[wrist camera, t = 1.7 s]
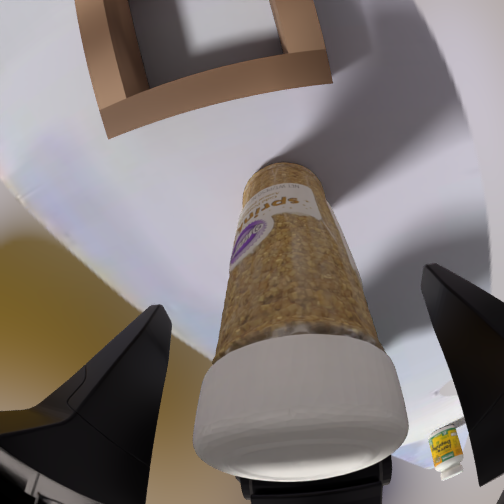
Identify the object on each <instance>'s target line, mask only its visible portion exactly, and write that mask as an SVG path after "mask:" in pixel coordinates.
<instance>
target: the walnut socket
mask: <svg viewBox="0 0 504 504" xmlns="http://www.w3.org/2000/svg"><path fill="white" fill-rule="evenodd" d="M269 2H270V5H271V9H272V12H273V16H274V20H275V23H276V27H277V31H278V35H279V39H280V43H281V47H282V51H283V54H281V55H275V56H269V57H264V58H258V59H253V60H248V61H244V62H239V63H235V64H230V65H226V66H222V67H218V68H215V69H211V70H207V71H204V72H200V73H197V74H193V75H190V76H187V77H183V78H180V79H177V80H174V81H171V82H168V83H165V84H162V85H160V86H157V87H154V88H151V89H150V88H149V84H148V81H147V77H146V73H145V69H144V65H143V62H142V58H141V54H140V50H139V46H138V42H137V38H136V34H135V29H134V25H133V21H132V16H131V12H130V8H129V3H128V0H75V6H76V12H77V18H78V23H79V29H80V34H81V39H82V43H83V48H84V53H85V57H86V61H87V66H88V70H89V74H90V78H91V82H92V85H93V89H94V93H95V97H96V100H97V104H98V107H99V111H100V114H101V117H102V121H103V124H104V127H105V130H106V134H107V137H108V139H111V138H113V137H116V136H118V135H121V134H123V133H126V132H128V131H131V130H134V129H136V128H139V127H142V126H145V125H148V124H151V123H153V122H156V121H159V120H162V119H165V118H169V117H172V116H175V115H178V114H181V113H185V112H188V111H192V110H195V109H199V108H202V107H206V106H210V105H214V104H218V103H222V102H226V101H230V100H234V99H239V98H243V97H248V96H253V95H258V94H263V93H268V92H274V91H279V90H285V89H292V88H298V87H306V86H313V85H322V84H331V83H333V81H332V75H331V71H330V66H329V61H328V57H327V52H326V48H325V43H324V39H323V35H322V31H321V27H320V23H319V20H318V16H317V12H316V9H315V5H314V2H313V0H269Z"/></svg>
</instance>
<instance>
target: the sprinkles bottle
mask: <svg viewBox="0 0 504 504" xmlns="http://www.w3.org/2000/svg"><path fill="white" fill-rule="evenodd" d="M229 274H230V276H229V280H228V284H227V291H226V298H225V302H224V309H223V313H222V322H221V328H220V333H219V340H218V344H217V348H216V355H215V357H214V359H213V361H212V364H213V366H211V367H210V369H209V370H208V372H207V374H206V375H205V377H204V380H203V382H202V387H201V391H200V396H199V401H198V407H197V412H196V419H195V425H194V433H193V446H194V449H195V452H196V454H197V455H198V456H199V457H200V458H201V460H203V461H204V462H205V463H207V464H208V465H210V466H212V467H214V468H216V469H218V470H220V471H222V472H225V473H228V474H232V475H235V476H239V477H244V478H249V479H255V480H264V481H279V482H296V481H310V480H318V479H325V478H331V477H335V476H340V475H344V474H347V473H351V472H354V471H357V470H360V469H363V468H366V467H368V466H371V465H373V464H375V463H377V462H379V461H381V460H383V459H384V458H386V457H388V456H389V455H391V454H392V453H393V452H395V451H396V450H397V449H398V448H399V447H400V446H401V445H402V443H403V442H404V440H405V439H406V436H407V434H408V429H409V425H408V418H407V412H406V407H405V402H404V398H403V394H402V390H401V387H400V383H399V379H398V376H397V372H396V369H395V366H394V364H393V362H392V360H391V359H390V357H389V356H388V355H387V354H386V352H385V351H384V349H383V347H382V345H381V343H380V342H379V340H378V337H377V332H376V330H375V327H374V325H373V320H372V317H371V315H370V312H369V310H368V305H367V301H366V299H365V296H364V293H363V286H362V281H361V278H360V275H359V272H358V269H357V267H356V264H355V262H354V259H353V256H352V254H351V251H350V249H349V247H348V244H347V242H346V239H345V237H344V235H343V232H342V230H341V227H340V225H339V223H338V221H337V219H336V216H335V214H334V212H333V210H332V208H331V206H330V204H329V203H328V201H326V199H325V193H324V190H323V188H322V185H321V182H320V181H319V180H318V178H317V177H316V176H315V175H314V174H313V173H312V172H311V171H310V170H309V169H307V168H305V167H303V166H301V165H298V164H295V163H285V162H281V163H274V164H271V165H268V166H266V167H264V168H263V169H260V170H259V171H258V172H256V173H255V174H254V175H253V176H252V177H251V178H250V179H249V181H248V183H247V185H246V187H245V190H244V193H243V209H242V212H241V214H240V217H239V221H238V225H237V231H236V236H235V241H234V245H233V251H232V256H231V261H230V269H229Z"/></svg>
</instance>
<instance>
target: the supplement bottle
mask: <svg viewBox="0 0 504 504" xmlns="http://www.w3.org/2000/svg"><path fill="white" fill-rule="evenodd" d="M428 440H429V444H430V448H431V453H432V457H433V462H434V466H435V469H436V471H441V480H442V481H443V480H446V479H449V478H451V477H453V476H456V475H457V474H459V473H461V472H463V467H462V465H460V462H461V461H462V460H463V452H462V449H461V445H460V442H459V438H458V435H457V432H456V428H455V426H454V425H448V426H445V427H443V428H441V429H439V430H437V431H435V432H433V433H432V434H431V435H430V436H429V438H428Z"/></svg>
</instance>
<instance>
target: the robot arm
mask: <svg viewBox="0 0 504 504" xmlns="http://www.w3.org/2000/svg"><path fill="white" fill-rule="evenodd" d="M421 290H422V294H423V297H424V300H425V303H426V306H427V309H428V312H429V315H430V319H431V322H432V325H433V328H434V331H435V333H436V336H437V338H438V341H439V343H440V346H441V348H442V351H443V354H444V356H445V359H446V362H447V364H448V367H449V370H450V373H451V376H452V379H453V382H454V385H455V388H456V390H457V394H458V397H459V400H460V404H461V407H462V410H463V414H464V417H465V421H466V425H467V429H468V432H469V437H470V441H471V446H472V450H473V454H474V460H475V465H476V470H477V476H478V482H479V486H480V487H481V486H483V485H485V484H487V483H488V482H491V481H492V480H494V479H496V478H498V477H500V476H502V475H503V474H504V302H502V301H501V300H499V299H497V298H495V297H494V296H492V295H491V294H489V293H487V292H486V291H484V290H482V289H481V288H479V287H477V286H476V285H474V284H472V283H471V282H469V281H467V280H465V279H464V278H462V277H460V276H458V275H457V274H455V273H453V272H451V271H449V270H448V269H446V268H444V267H442V266H440V265H439V264H437V263H431V264H426V265H425V266H424V268H423V274H422V281H421ZM171 330H172V323H171V320H170V318H169V316H168V314H167V313H166V311H165V309H164V307H163V306H162V305H160V304H159V305H151V306H149V307H148V308H147V309H146V310H145V311H144V312H143V313H142V314H140V315H139V316H138V317H137V318H136V319H135V320H134V321H133V322H132V323H130V324H129V325H128V326H127V327H126V328H125V329H124V330H123V331H122V332H120V333H119V334H118V335H117V336H116V337H115V338H114V339H113V340H112V341H110V342H109V343H108V344H107V345H106V346H105V347H104V348H103V349H102V350H101V351H99V352H98V353H97V354H96V355H95V356H94V357H93V358H92V359H91V360H90V361H89V362H88V363H86V365H84V366H83V367H82V368H81V369H80V370H79V371H78V372H77V373H76V374H74V375H73V376H72V377H71V378H70V379H69V380H67V381H66V382H65V383H64V384H63V385H61V386H60V387H59V388H58V389H57V390H55V391H54V392H53V393H52V394H51V395H49V396H48V397H47V398H45V399H44V400H43V401H42V402H41V403H39V404H38V405H36V406H34V407H32V408H30V409H25V410H13V411H0V504H145V503H146V495H147V487H148V479H149V471H150V463H151V457H152V449H153V444H154V438H155V432H156V425H157V420H158V414H159V409H160V403H161V398H162V392H163V387H164V382H165V377H166V372H167V366H168V360H169V350H170V339H171ZM391 473H392V460H391V455H389V456H388V457H386V458H384V459H383V460H381V461H379V462H377V463H375V464H373V465H371V466H368V467H366V468H363V469H360V470H357V471H354V472H351V473H347V474H344V475H340V476H335V477H331V478H325V479H318V480H310V481H296V482H279V481H264V480H255V479H249V478H244V477H239V476H235V477H236V479H237V480H238V481H239V482H240V483H241V489H242V493H243V496H244V498H245V499H246V500H251V504H382V488H383V486H384V485H388V484H389V483H390V480H391V475H392V474H391ZM497 504H504V490H503V492H502V494H501V496H500V498H499V500H498V502H497Z"/></svg>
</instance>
